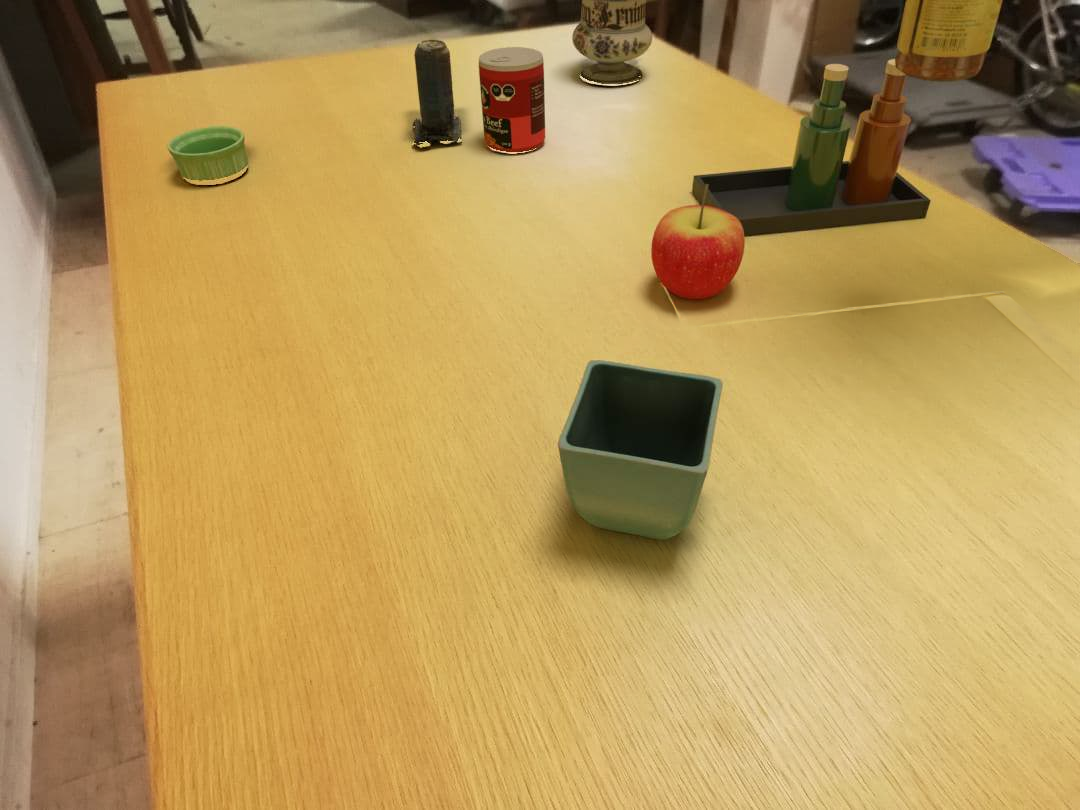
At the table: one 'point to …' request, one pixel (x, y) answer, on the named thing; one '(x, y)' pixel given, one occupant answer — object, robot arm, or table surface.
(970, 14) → the sauce bottle
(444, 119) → the dark pillar on base
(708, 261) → the apple
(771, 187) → the tray
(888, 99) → the amber bottle
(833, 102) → the green bottle
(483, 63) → the canned food
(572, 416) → the flower pot
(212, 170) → the ramekin
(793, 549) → the table surface
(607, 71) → the apothecary jar
